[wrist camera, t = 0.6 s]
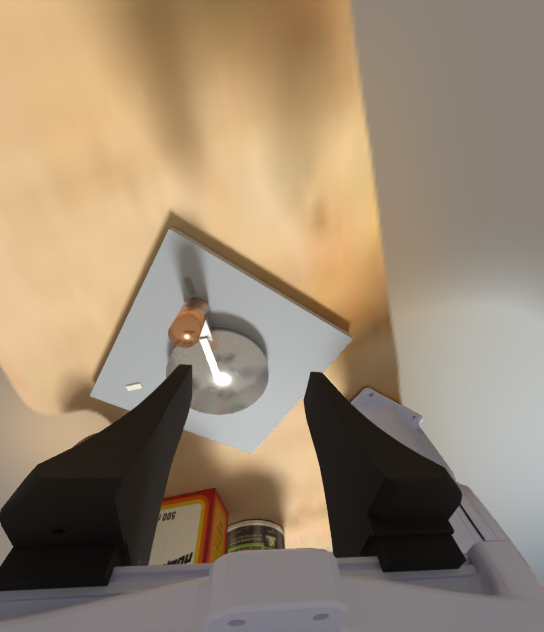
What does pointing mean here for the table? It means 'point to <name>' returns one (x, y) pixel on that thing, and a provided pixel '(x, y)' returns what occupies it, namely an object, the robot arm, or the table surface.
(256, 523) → the coffee can
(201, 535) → the baking soda box
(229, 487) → the table surface
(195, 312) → the dial
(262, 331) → the board
